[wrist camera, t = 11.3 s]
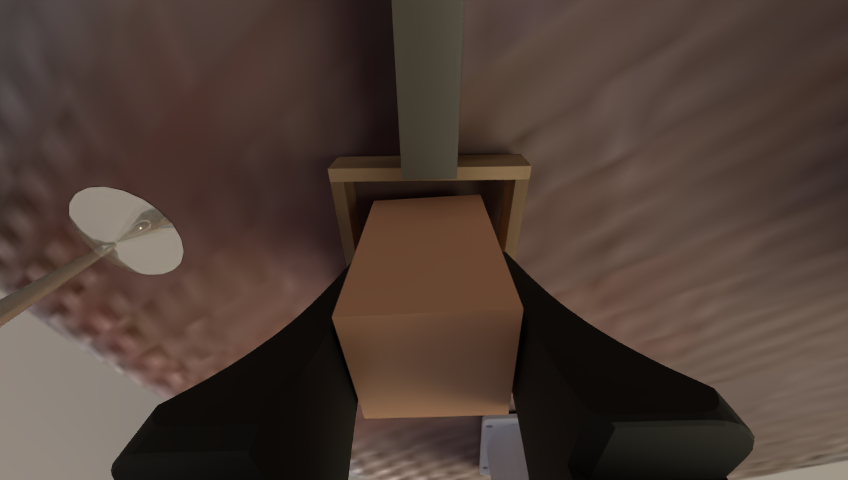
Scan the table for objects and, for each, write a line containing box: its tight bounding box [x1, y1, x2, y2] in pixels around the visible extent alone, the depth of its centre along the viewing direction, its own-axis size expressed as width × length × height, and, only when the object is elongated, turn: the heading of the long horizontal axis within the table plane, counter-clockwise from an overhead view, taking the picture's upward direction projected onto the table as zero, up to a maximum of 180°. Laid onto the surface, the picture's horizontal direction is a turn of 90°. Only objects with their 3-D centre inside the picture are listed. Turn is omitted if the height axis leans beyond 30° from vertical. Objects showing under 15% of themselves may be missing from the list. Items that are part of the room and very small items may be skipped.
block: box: [332, 194, 523, 419], centre depth 11 cm, size 4×4×6 cm
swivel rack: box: [328, 0, 532, 268], centre depth 11 cm, size 7×15×3 cm, turn 1°
